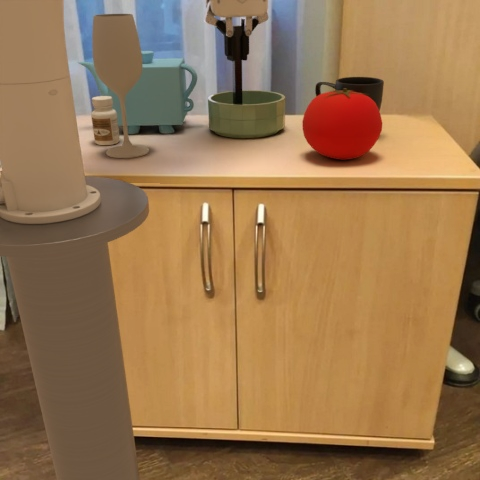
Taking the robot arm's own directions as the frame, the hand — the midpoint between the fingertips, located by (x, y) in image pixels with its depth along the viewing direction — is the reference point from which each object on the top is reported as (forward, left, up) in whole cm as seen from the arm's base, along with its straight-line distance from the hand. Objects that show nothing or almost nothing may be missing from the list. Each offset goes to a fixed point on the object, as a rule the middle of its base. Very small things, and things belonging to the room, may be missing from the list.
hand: (237, 59), depth 109 cm
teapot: (-16, +9, -13) cm, 23 cm away
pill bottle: (-25, +1, -13) cm, 28 cm away
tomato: (+8, -24, -13) cm, 29 cm away
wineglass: (-23, -7, -13) cm, 27 cm away
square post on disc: (0, 0, -11) cm, 11 cm away
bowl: (+1, -1, -13) cm, 13 cm away
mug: (+16, -12, -13) cm, 24 cm away
